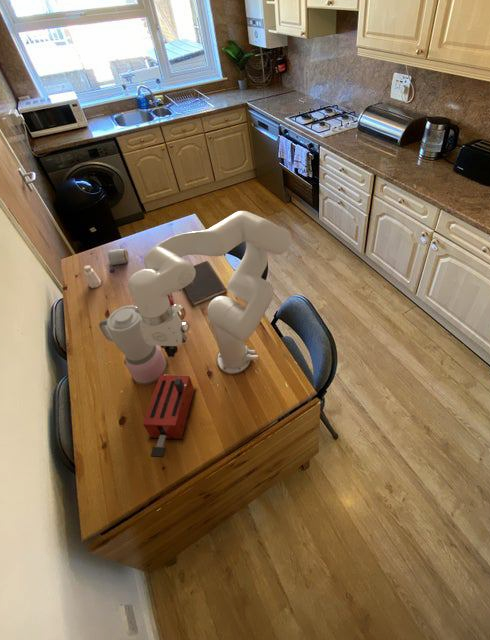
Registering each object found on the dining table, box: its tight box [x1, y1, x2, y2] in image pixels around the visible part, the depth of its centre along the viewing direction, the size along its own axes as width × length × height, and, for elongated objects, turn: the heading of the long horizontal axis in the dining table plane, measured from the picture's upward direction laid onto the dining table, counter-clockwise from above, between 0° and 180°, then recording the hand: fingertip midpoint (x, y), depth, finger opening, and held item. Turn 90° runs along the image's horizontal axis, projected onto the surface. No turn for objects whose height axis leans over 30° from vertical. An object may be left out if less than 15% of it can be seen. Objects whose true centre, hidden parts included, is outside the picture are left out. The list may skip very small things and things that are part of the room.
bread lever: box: [150, 435, 166, 459], centre depth 103 cm, size 4×6×1 cm, turn 177°
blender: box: [98, 304, 168, 386], centre depth 117 cm, size 16×12×32 cm
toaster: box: [142, 374, 196, 441], centre depth 111 cm, size 10×16×10 cm, turn 177°
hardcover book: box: [183, 260, 228, 307], centre depth 161 cm, size 16×23×2 cm
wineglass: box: [171, 303, 189, 331], centre depth 139 cm, size 6×6×12 cm
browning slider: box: [174, 379, 184, 392], centre depth 109 cm, size 2×2×4 cm
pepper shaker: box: [83, 264, 102, 289], centre depth 160 cm, size 5×5×11 cm
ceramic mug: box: [107, 248, 130, 266], centre depth 175 cm, size 11×8×8 cm
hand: (172, 352), depth 99 cm, fingers closed
